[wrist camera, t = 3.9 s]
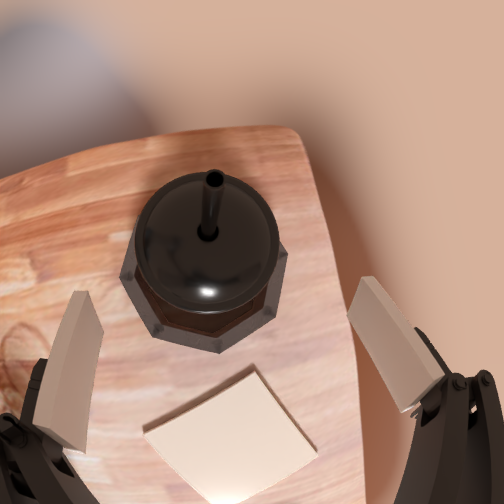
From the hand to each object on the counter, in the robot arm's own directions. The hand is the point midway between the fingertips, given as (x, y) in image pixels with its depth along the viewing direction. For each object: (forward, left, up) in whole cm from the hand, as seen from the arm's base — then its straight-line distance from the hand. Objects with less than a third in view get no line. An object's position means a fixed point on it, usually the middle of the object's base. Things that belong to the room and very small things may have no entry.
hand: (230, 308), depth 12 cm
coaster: (+14, -7, -15) cm, 22 cm away
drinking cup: (-4, +1, -15) cm, 15 cm away
